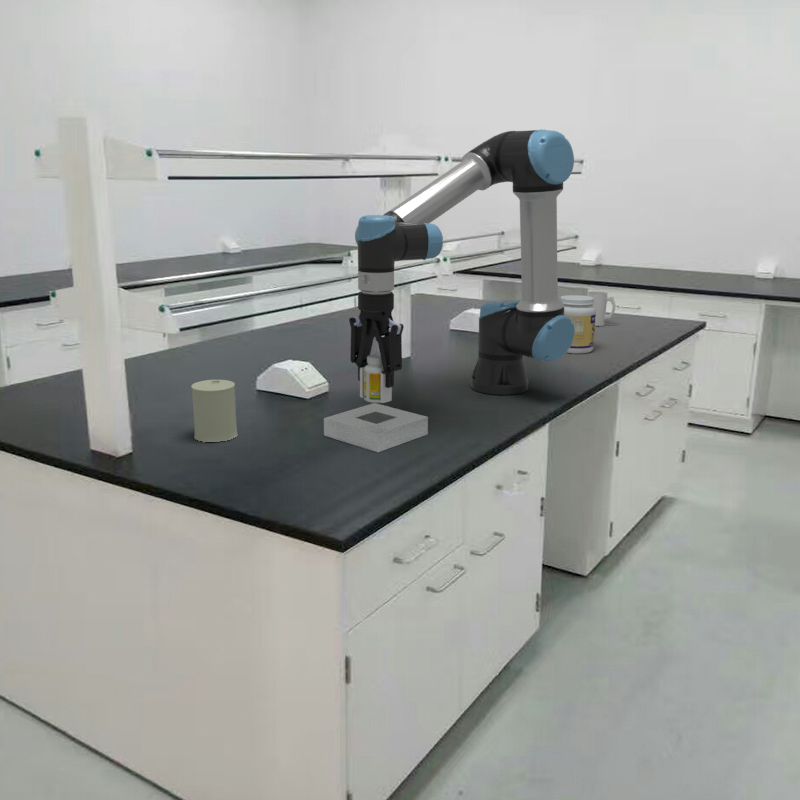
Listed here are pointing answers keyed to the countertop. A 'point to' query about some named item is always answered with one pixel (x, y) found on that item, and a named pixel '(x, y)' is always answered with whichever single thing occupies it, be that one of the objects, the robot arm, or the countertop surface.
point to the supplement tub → (580, 322)
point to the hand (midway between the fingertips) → (375, 398)
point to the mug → (601, 306)
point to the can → (214, 410)
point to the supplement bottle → (373, 379)
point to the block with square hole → (375, 427)
